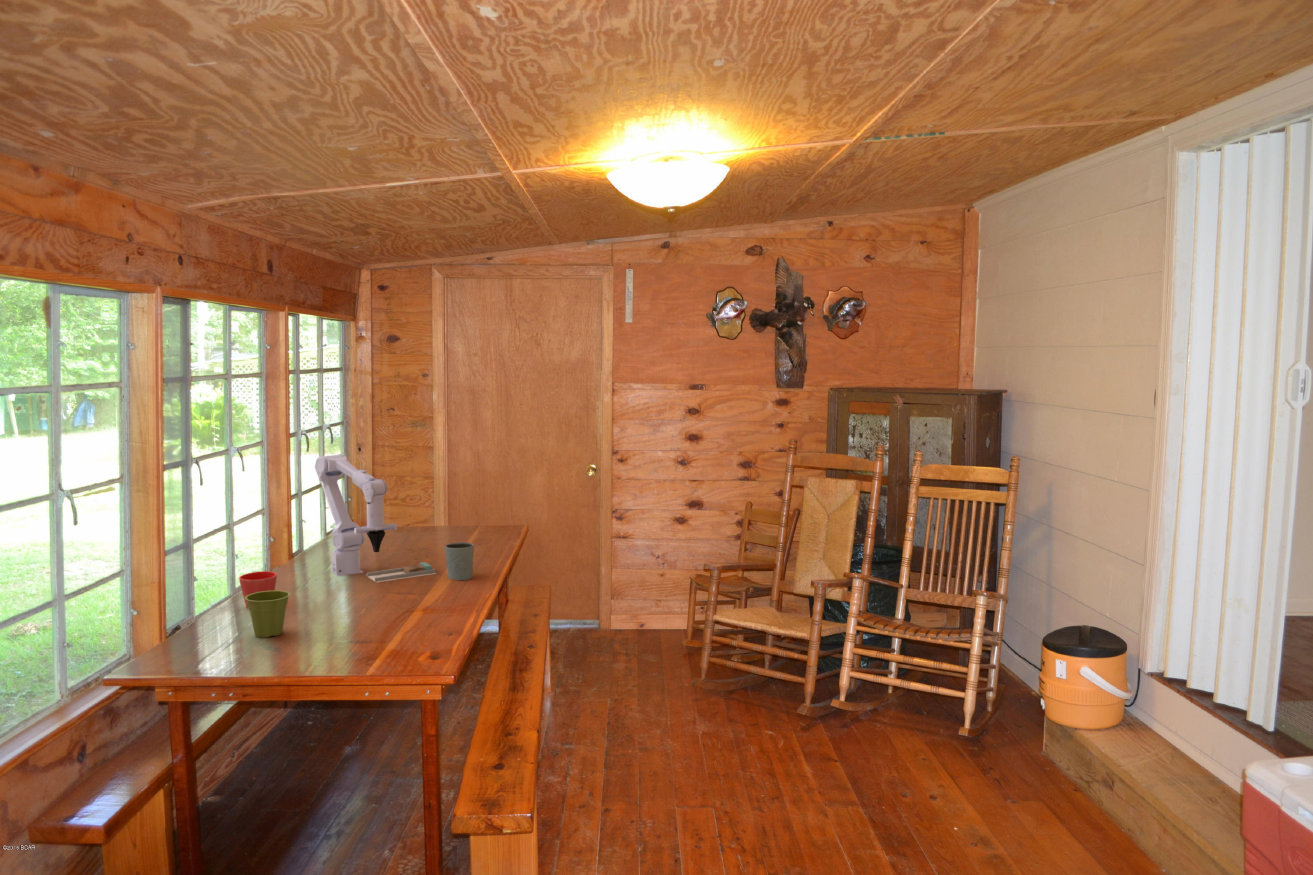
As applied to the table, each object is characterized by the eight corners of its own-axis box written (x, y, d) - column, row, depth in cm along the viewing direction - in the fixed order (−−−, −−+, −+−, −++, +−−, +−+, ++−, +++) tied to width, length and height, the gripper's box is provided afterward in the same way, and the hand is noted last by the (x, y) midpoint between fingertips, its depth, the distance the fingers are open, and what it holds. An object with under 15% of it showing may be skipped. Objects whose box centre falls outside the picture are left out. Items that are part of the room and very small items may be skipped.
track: (376, 583, 306) (376, 575, 306) (365, 576, 316) (365, 568, 315) (436, 574, 319) (436, 566, 319) (424, 568, 329) (424, 560, 328)
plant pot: (289, 638, 246) (287, 599, 245) (243, 642, 243) (241, 602, 242) (294, 626, 258) (292, 588, 257) (249, 629, 254) (248, 591, 253)
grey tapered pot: (467, 582, 308) (466, 548, 307) (440, 580, 310) (439, 547, 309) (478, 575, 318) (478, 542, 317) (452, 573, 320) (452, 541, 319)
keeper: (408, 574, 316) (408, 569, 316) (404, 572, 320) (403, 566, 320) (424, 572, 320) (424, 567, 320) (419, 569, 324) (419, 564, 324)
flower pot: (260, 611, 273) (258, 580, 272) (232, 607, 276) (231, 577, 275) (285, 602, 282) (284, 572, 282) (258, 599, 286) (257, 569, 285)
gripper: (358, 517, 303) (359, 556, 304) (399, 513, 312) (400, 551, 313) (352, 514, 309) (353, 552, 310) (392, 510, 317) (393, 547, 319)
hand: (376, 551), depth 312 cm, fingers closed
